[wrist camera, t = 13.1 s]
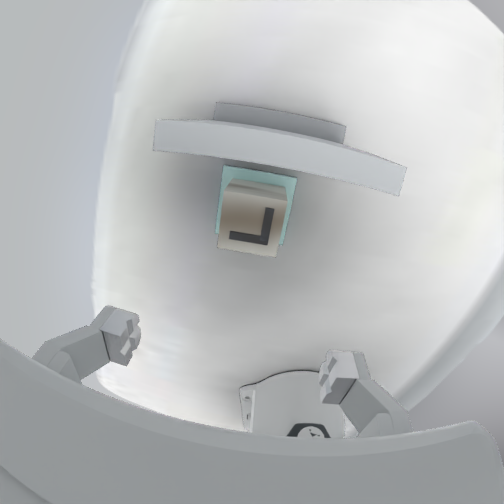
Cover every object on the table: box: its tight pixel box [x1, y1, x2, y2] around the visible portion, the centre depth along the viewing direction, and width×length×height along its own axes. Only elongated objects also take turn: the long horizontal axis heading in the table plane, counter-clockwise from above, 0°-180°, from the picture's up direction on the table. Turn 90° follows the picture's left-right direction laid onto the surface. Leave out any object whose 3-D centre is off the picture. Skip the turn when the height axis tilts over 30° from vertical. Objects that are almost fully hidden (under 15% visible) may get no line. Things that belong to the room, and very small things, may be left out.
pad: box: [215, 165, 297, 245], centre depth 27 cm, size 7×7×1 cm
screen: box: [153, 102, 407, 196], centre depth 18 cm, size 5×12×14 cm, turn 81°
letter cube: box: [217, 178, 288, 258], centre depth 24 cm, size 5×5×5 cm
